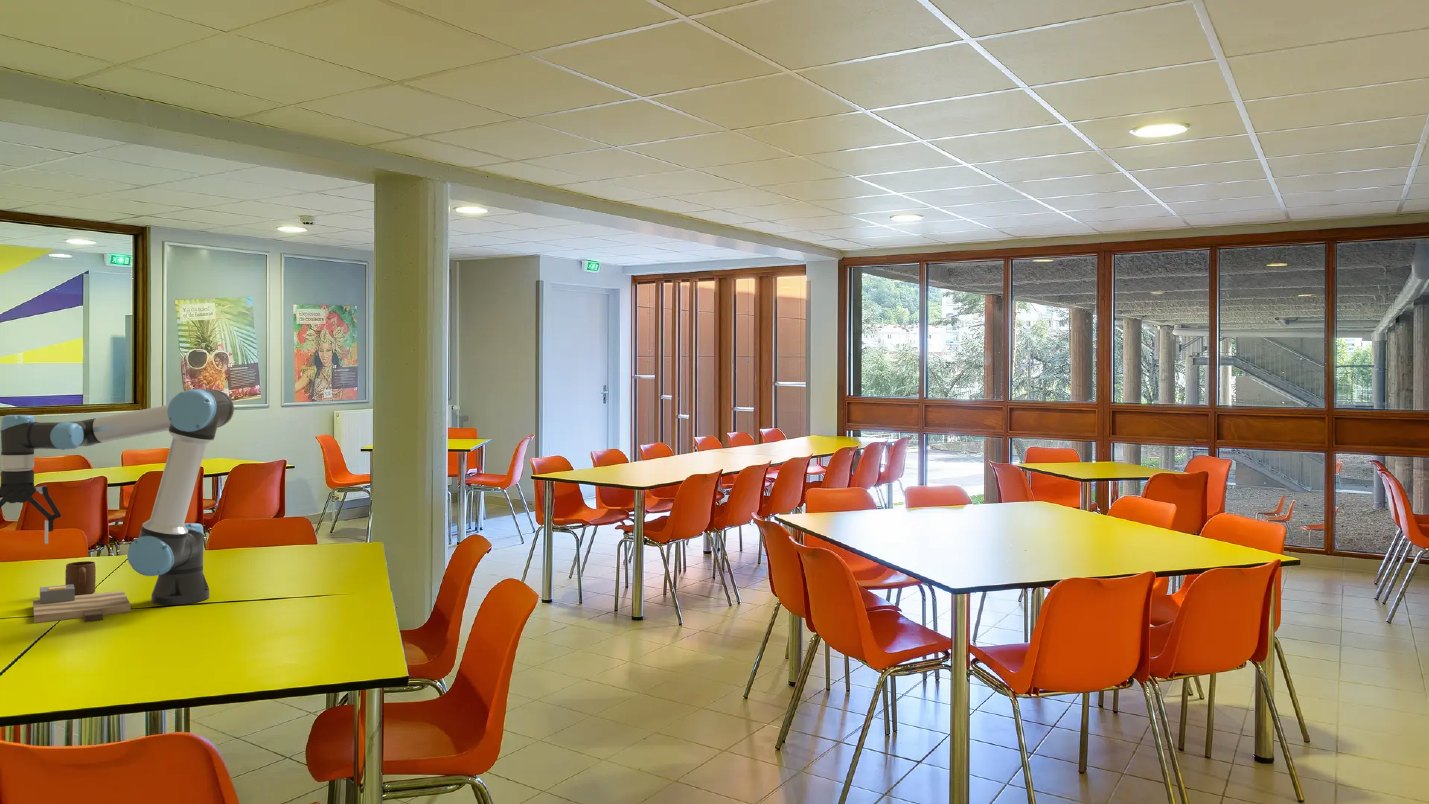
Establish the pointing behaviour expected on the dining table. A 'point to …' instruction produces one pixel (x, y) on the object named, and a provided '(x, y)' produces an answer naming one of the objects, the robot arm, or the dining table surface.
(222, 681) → the dining table surface
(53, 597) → the grey rectangular block
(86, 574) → the mug
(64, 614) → the board
